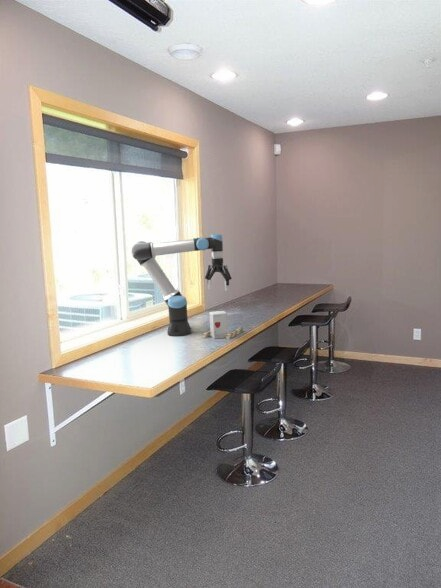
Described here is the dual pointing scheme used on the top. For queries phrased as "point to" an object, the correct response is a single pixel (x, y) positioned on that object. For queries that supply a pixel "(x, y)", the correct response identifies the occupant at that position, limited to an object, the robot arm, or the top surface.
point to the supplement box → (218, 324)
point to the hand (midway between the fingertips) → (218, 290)
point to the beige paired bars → (227, 334)
